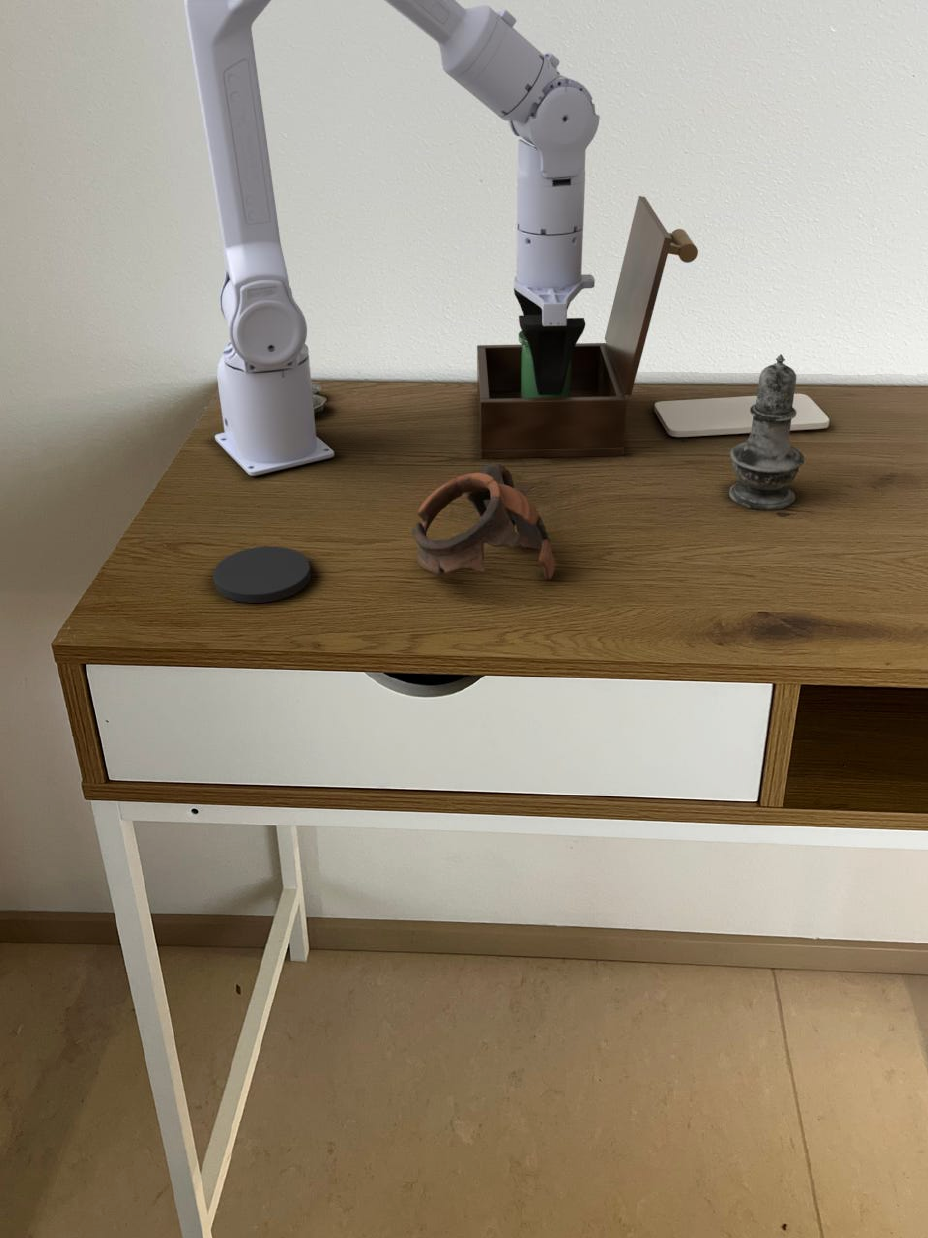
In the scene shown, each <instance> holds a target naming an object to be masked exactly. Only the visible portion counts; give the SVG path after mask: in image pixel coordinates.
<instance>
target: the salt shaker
mask: <svg viewBox="0 0 928 1238" xmlns="http://www.w3.org/2000/svg"><path fill="white" fill-rule="evenodd" d="M775 360H776V363H774V364H771V365H767V366H766V367H764V368H763V369H762V370H761V371H760V374H759V377H758V385H757V391H756V393H757V394H756V396H757V400H756V404H755V405H753V406H752V407H751V409H750V412H751V414H752V415H753V423H752V430H751V433H749V436H748V439H747V441H744V442H740V443H738V444H736V445H734V446H733V447H732V448H731V449H730V452H729V456H730V460H732V468H733V470H734V474H735V477H736V478H737V479H738V480H739V481H738V482H736V483H734V484H733V485H731V486H730V488H729V490H728V495H729V497H730V499H731V500H732V501H733V502H735V503H737V504H738V505H740V506H743V507H746V508H749V509H754V510H760V511H773V510H774V511H775V510H781V509H785V508H787V507H789V506H791V505H793V503H794V502H795V498H796V496H795V493H794V491H793V490H792V489H791V488H789V487H788V485H789V484H791V483H792V482H793V481H794V480H795V478H796V476H797V475H798V473H799V471H800V468H801V467H802V466H803V465H804V464H805V455H804V454H803V453H802V451H800V450H799V449H798V448H796V447H795V446H792V445H791V442H790V432H791V430H790V425H791V419H792V418H794V417H795V416H796V410H795V409H794V408H793V407H792V405H793V398H794V394H795V392H796V391H795V390H796V385H797V373H796V372H795V371H794V369H792V368H791V367H790V366H788V365H786V364H785V363H784V362H785V361H786V359H785V357H784V356H783V354H779V355H778V356H777V357H776V358H775Z"/></svg>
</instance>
